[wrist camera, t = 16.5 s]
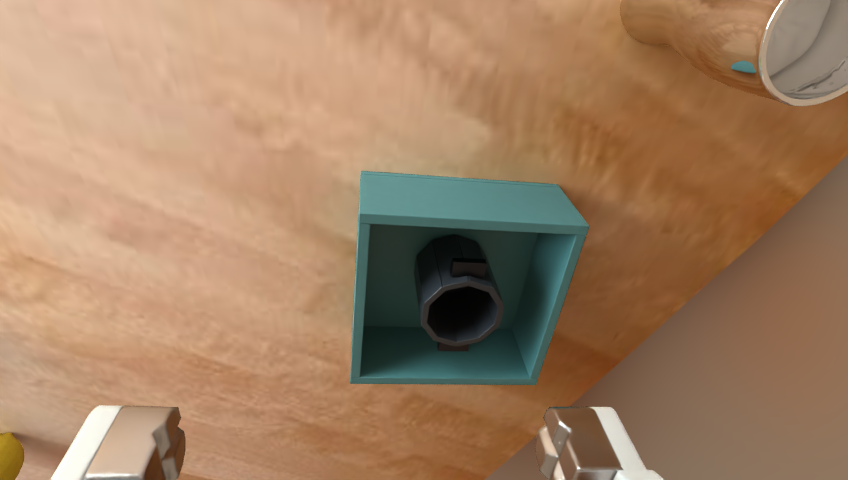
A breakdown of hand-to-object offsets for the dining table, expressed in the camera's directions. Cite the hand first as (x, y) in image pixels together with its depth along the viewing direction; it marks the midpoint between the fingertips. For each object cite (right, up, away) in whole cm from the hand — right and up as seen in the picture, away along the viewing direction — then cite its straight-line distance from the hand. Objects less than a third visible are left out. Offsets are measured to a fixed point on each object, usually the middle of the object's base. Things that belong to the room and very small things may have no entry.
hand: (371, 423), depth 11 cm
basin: (+3, +2, +33) cm, 34 cm away
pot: (+4, +2, +33) cm, 33 cm away
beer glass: (+18, +21, +23) cm, 36 cm away
